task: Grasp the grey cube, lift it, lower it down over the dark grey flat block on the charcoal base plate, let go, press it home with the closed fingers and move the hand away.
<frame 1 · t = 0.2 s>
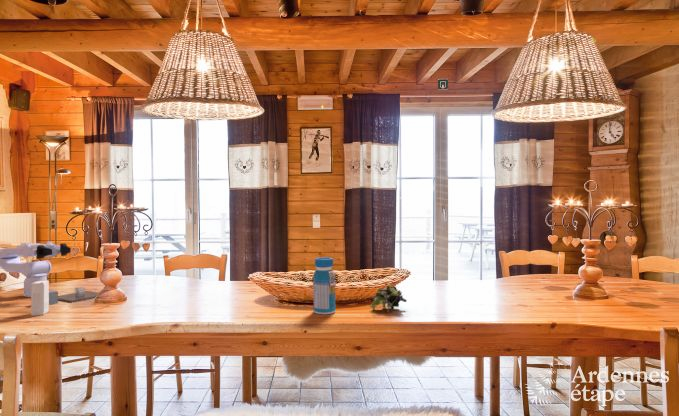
hand: (60, 250, 195), 21 cm above the table, tool horizontal, fingers open, 7 cm apart
dark grey flat block: (80, 297, 201), on the table
skincare box: (40, 314, 170), on the table
green leafy plant: (388, 311, 170), on the table
grey cube: (47, 303, 188), on the table
beverage bottle: (324, 312, 168), on the table
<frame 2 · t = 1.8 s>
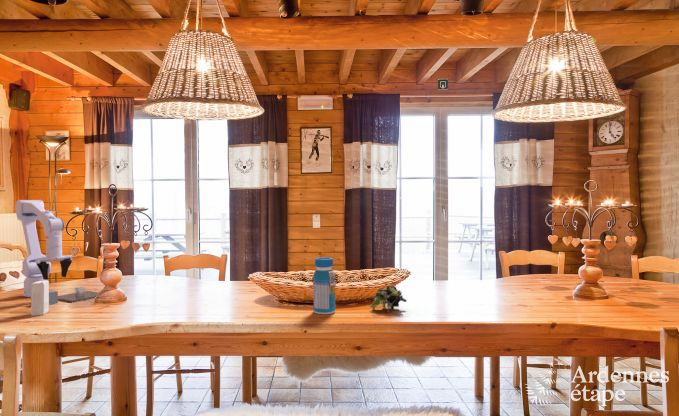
hand: (54, 278, 195), 9 cm above the table, tool pointing down, fingers open, 7 cm apart
nothing on the table moved.
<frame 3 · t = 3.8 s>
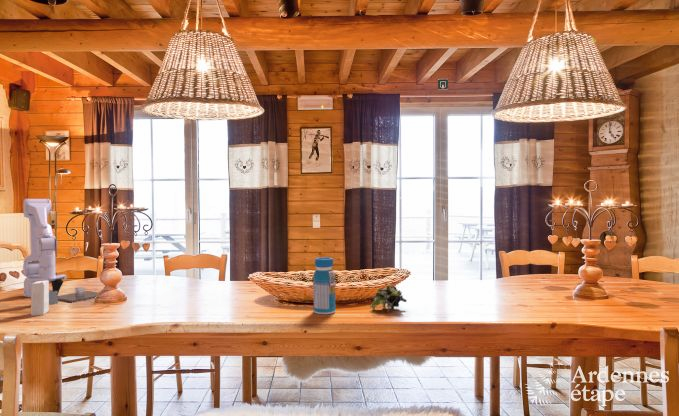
hand: (47, 299, 188), 2 cm above the table, tool pointing down, fingers closed on grey cube, 5 cm apart
grey cube: (47, 303, 188), on the table, touching gripper
everything else where it was.
when the fingers open (5 cm above the table, at t = 8.4 s): grey cube drops 2 cm, resting on dark grey flat block.
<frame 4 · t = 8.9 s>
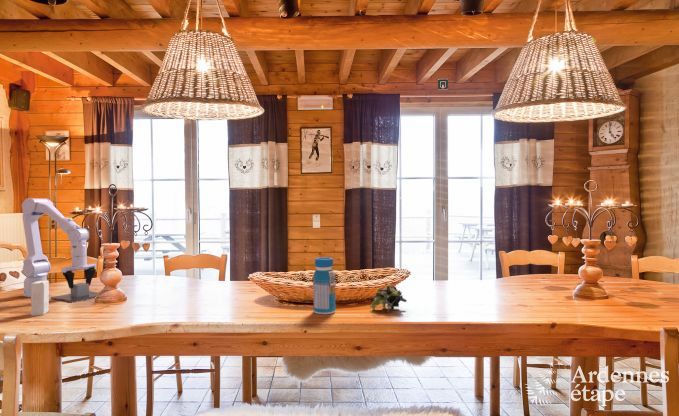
hand: (79, 286, 201), 5 cm above the table, tool pointing down, fingers open, 7 cm apart
grey cube: (79, 295, 201), point 1 cm above the table, touching dark grey flat block
everything else where it was.
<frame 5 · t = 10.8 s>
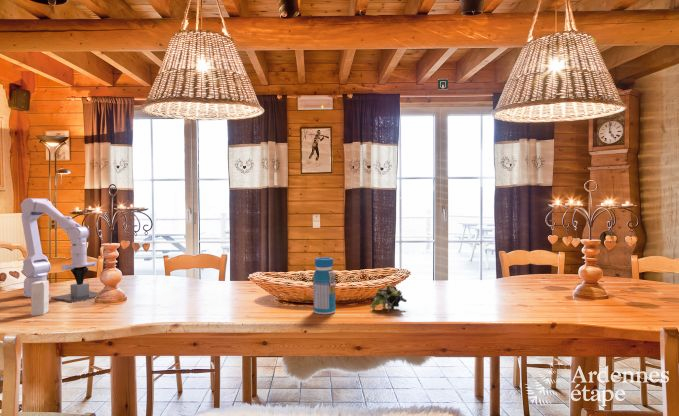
hand: (79, 284, 201), 6 cm above the table, tool pointing down, fingers closed, pressing on grey cube
grey cube: (79, 295, 201), point 1 cm above the table, touching gripper, dark grey flat block
everything else where it was.
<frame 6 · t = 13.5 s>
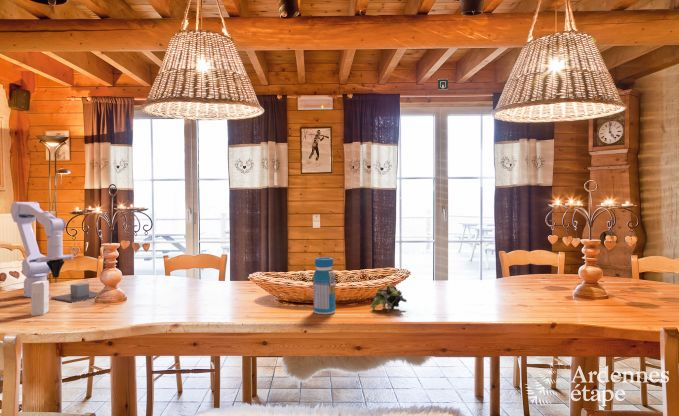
hand: (55, 277, 197), 9 cm above the table, tool pointing down, fingers closed
grey cube: (79, 295, 201), point 1 cm above the table, touching dark grey flat block
everything else where it was.
at the end: grey cube 0.1 cm from the dark grey flat block (horizontally); grey cube point 0.8 cm above the table; grey cube tilted 0° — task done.
